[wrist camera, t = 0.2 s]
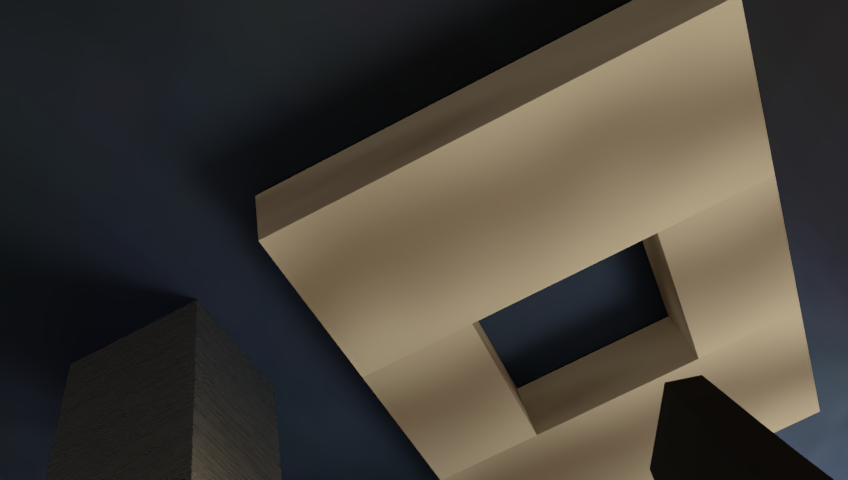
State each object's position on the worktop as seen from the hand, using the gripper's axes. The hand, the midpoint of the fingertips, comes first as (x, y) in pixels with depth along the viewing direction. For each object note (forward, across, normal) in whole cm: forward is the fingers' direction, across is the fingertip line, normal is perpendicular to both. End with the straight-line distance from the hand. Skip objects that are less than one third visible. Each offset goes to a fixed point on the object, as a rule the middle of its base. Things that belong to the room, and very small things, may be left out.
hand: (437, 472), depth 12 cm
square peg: (+10, +6, +6) cm, 13 cm away
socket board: (+10, -6, +6) cm, 13 cm away
